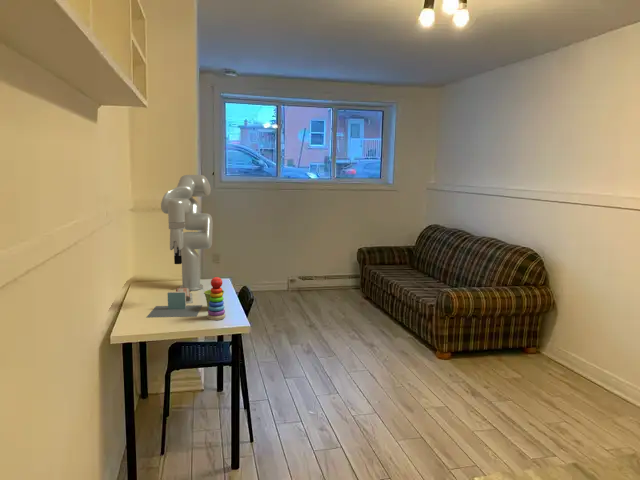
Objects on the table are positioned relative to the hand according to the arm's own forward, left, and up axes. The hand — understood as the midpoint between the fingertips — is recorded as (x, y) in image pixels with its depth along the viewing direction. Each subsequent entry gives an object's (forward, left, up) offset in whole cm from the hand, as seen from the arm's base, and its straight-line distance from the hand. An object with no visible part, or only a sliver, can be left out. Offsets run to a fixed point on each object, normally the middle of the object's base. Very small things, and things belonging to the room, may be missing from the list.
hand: (178, 263), depth 230 cm
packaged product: (-11, -1, -22) cm, 24 cm away
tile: (+6, 0, -21) cm, 21 cm away
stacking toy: (+21, +20, -21) cm, 36 cm away
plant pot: (+7, +18, -21) cm, 28 cm away
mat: (+10, 0, -21) cm, 23 cm away
